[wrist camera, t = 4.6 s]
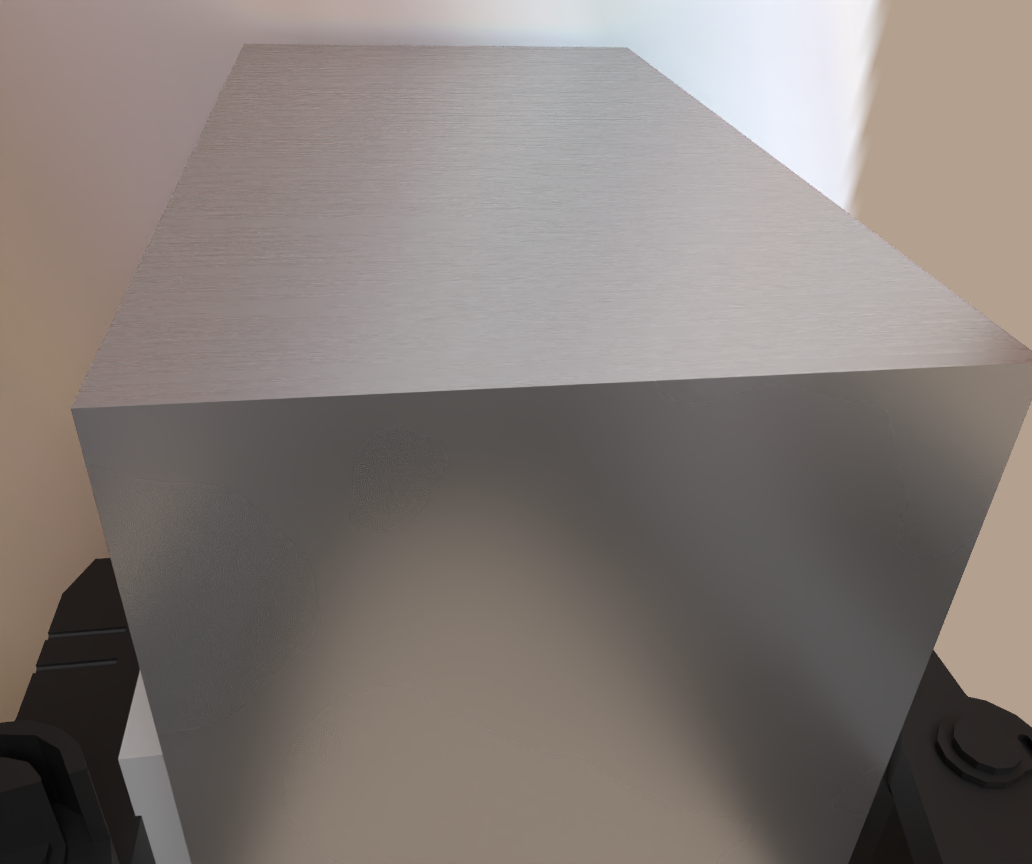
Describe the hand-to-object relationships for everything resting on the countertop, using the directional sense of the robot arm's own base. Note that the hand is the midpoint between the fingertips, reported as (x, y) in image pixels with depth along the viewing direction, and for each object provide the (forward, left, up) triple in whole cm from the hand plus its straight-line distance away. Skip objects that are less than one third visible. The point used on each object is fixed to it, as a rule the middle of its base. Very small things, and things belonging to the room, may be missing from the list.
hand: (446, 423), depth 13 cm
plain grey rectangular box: (0, 0, 0) cm, 0 cm away
